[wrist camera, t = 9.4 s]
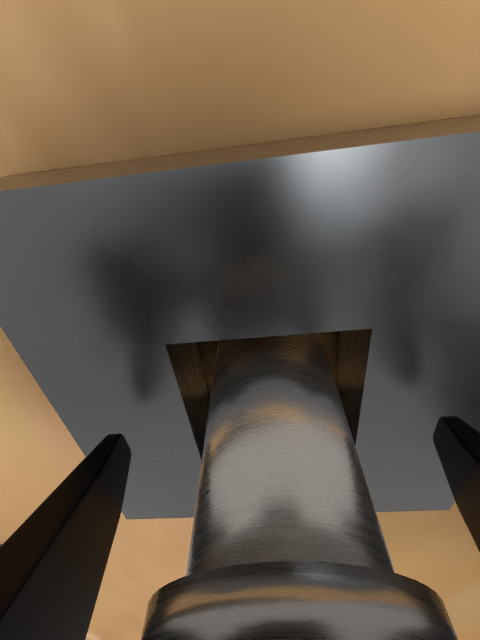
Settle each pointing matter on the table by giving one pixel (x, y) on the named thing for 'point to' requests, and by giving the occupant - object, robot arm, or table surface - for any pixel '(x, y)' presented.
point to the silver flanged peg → (286, 516)
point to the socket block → (254, 293)
